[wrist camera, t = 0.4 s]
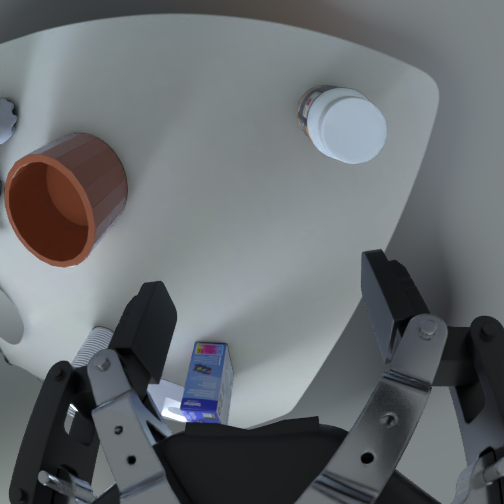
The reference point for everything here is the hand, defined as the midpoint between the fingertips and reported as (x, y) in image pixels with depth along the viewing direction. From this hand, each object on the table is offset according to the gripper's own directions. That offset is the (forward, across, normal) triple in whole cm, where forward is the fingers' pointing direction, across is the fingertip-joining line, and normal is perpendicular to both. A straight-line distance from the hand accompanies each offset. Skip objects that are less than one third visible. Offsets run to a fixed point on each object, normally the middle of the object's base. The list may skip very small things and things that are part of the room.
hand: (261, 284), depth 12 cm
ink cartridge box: (+20, +14, +31) cm, 40 cm away
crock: (+20, +21, -2) cm, 29 cm away
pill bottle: (+20, -7, -3) cm, 22 cm away
